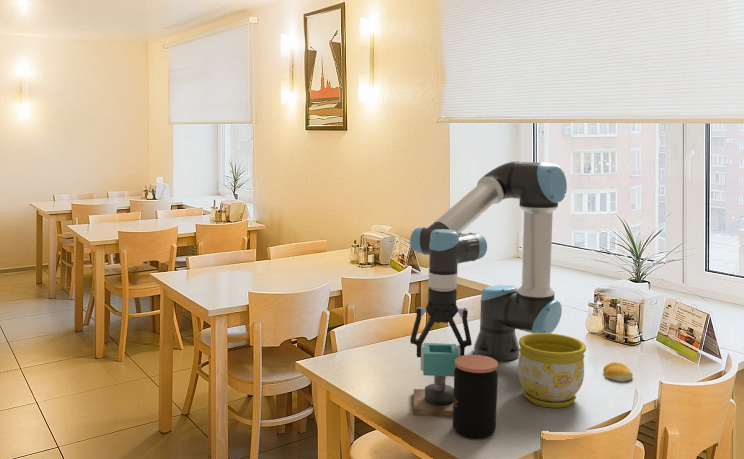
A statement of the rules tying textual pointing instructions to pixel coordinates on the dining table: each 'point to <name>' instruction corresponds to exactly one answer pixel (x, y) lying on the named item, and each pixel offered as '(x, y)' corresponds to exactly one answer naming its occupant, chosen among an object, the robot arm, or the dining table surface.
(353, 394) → the dining table surface
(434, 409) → the post stand
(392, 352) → the dining table surface
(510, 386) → the dining table surface
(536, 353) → the flowerpot
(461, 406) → the coffee jar
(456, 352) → the collar
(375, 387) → the dining table surface
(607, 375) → the bread roll
